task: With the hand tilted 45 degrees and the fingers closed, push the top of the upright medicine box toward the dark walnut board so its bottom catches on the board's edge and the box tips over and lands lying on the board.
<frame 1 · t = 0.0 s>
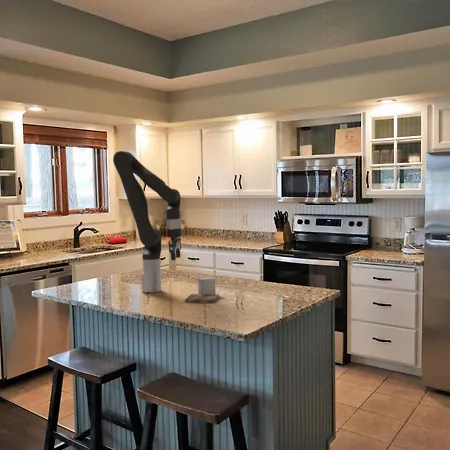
hand: (175, 258, 256), 17 cm above the countertop, tool pointing down, fingers open, 8 cm apart
board: (202, 300, 237), on the countertop
medicine box: (206, 295, 247), on the countertop
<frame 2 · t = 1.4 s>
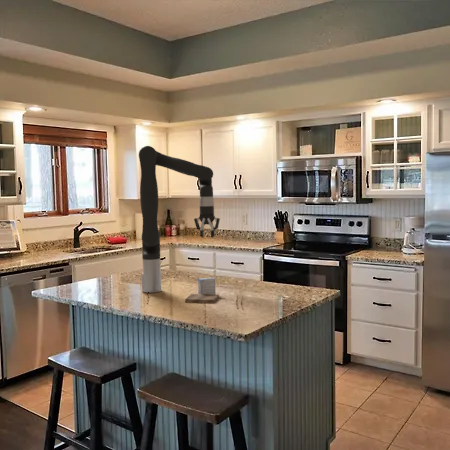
hand: (207, 237, 262), 27 cm above the countertop, tool pointing down, fingers open, 4 cm apart
nothing on the countertop moved.
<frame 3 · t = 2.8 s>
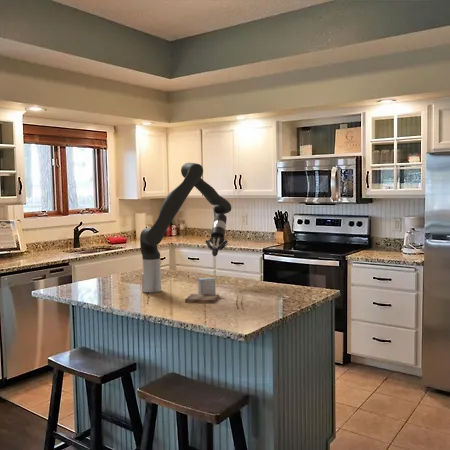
hand: (214, 255, 265), 17 cm above the countertop, tool tilted 45°, fingers closed
nothing on the countertop moved.
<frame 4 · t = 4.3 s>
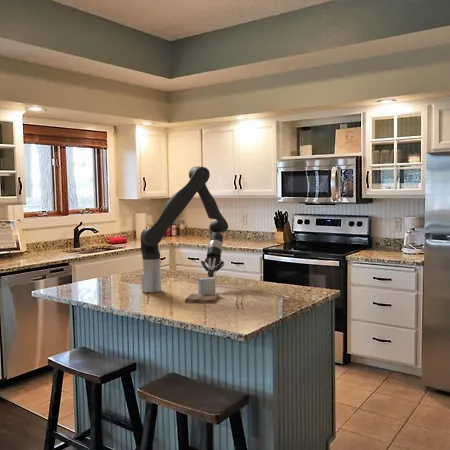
hand: (210, 277, 254), 8 cm above the countertop, tool tilted 45°, fingers closed
nothing on the countertop moved.
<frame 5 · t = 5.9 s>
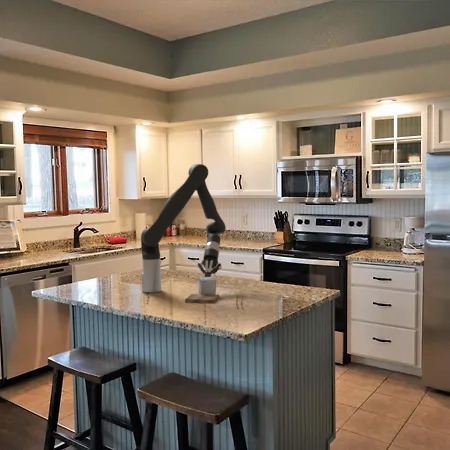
hand: (207, 279, 248), 8 cm above the countertop, tool tilted 45°, fingers closed
medicine box: (206, 294, 247), on the countertop, touching gripper
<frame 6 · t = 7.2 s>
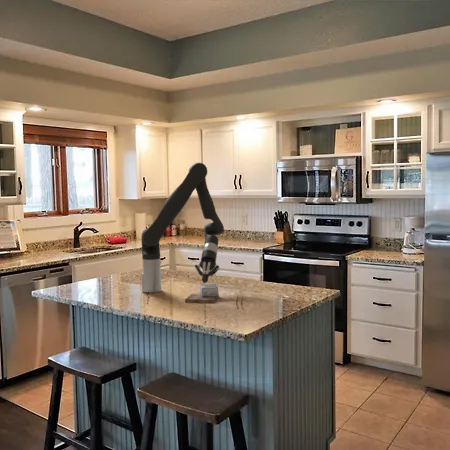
hand: (204, 282, 242), 8 cm above the countertop, tool tilted 45°, fingers closed
medicine box: (208, 288, 246), point 4 cm above the countertop, touching board
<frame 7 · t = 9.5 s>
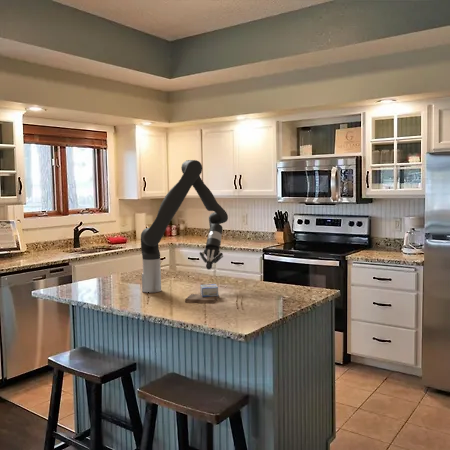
hand: (208, 268, 253), 12 cm above the countertop, tool tilted 45°, fingers closed
nothing on the countertop moved.
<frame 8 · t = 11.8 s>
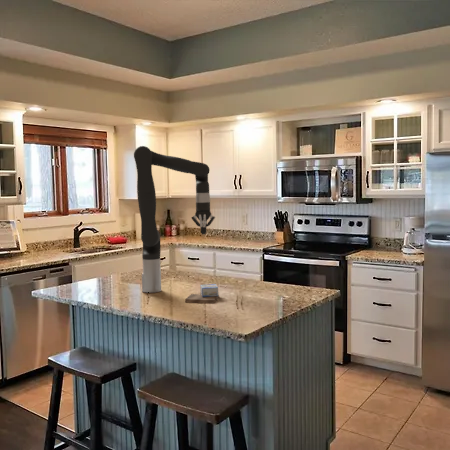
hand: (203, 234, 262), 29 cm above the countertop, tool pointing down, fingers closed
nothing on the countertop moved.
at the end: medicine box tilted 89°; medicine box touching board; medicine box inside the target area (7.2 cm from its centre), point 3.7 cm above the countertop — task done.
